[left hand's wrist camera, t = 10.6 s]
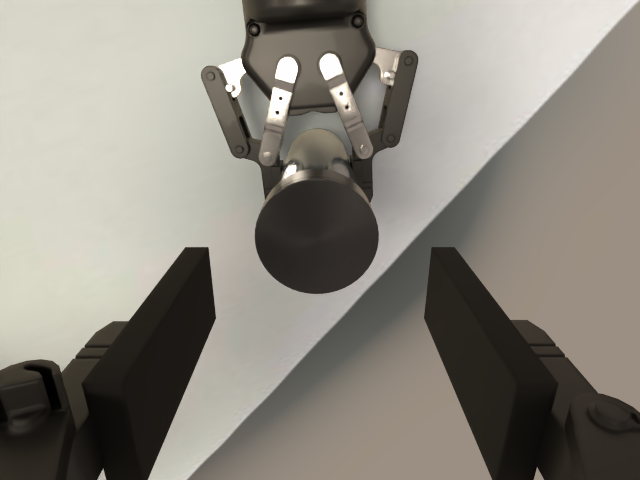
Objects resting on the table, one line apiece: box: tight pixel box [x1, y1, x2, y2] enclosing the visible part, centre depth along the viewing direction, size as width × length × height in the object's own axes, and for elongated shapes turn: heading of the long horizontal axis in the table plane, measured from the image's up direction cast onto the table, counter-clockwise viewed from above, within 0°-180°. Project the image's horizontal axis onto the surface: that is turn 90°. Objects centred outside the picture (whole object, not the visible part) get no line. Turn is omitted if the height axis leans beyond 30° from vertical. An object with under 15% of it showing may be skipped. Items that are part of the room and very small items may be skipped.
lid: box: [255, 169, 379, 294], centre depth 19 cm, size 5×5×2 cm
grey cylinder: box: [277, 129, 357, 184], centre depth 27 cm, size 5×5×18 cm
